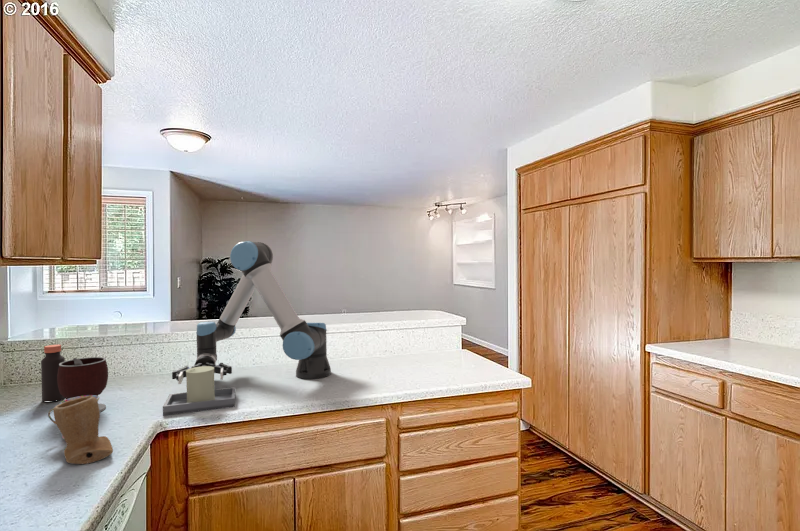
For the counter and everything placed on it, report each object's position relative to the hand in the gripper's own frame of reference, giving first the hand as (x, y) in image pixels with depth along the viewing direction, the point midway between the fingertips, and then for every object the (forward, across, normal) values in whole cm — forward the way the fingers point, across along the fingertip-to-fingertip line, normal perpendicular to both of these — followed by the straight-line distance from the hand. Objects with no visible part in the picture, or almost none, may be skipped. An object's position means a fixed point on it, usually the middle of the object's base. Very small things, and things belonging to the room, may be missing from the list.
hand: (200, 378), depth 152 cm
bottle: (-26, +52, -9) cm, 58 cm away
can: (+2, 0, -8) cm, 8 cm away
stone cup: (+34, +26, -9) cm, 43 cm away
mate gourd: (-6, +37, -9) cm, 38 cm away
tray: (+2, 0, -9) cm, 9 cm away
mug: (+18, +32, -9) cm, 38 cm away
